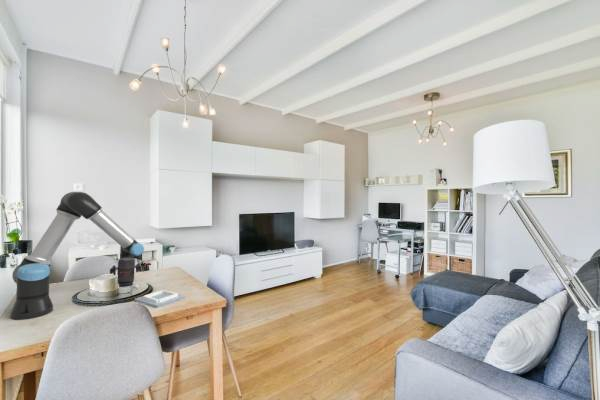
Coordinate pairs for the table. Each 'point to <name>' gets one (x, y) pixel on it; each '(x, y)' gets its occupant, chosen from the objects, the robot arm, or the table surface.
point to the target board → (160, 298)
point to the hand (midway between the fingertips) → (125, 273)
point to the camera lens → (126, 272)
